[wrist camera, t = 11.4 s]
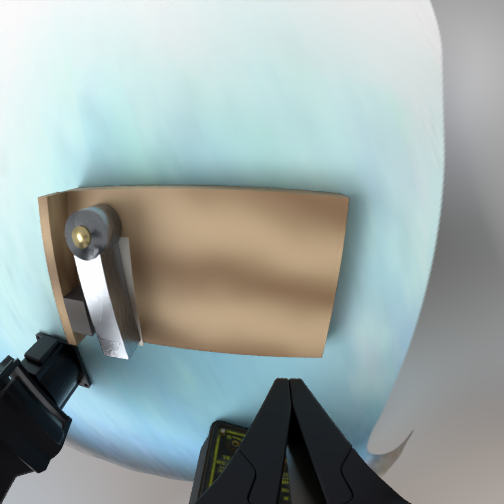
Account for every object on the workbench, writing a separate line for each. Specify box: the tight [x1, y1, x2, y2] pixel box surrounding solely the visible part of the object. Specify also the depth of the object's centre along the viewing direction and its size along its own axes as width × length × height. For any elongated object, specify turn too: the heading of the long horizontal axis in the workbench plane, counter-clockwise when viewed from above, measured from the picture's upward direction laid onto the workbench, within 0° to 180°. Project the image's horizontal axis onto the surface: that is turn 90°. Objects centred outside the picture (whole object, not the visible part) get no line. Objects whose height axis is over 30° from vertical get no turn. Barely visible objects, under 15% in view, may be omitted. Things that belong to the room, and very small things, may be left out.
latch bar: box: [65, 203, 141, 359], centre depth 17 cm, size 11×3×3 cm, turn 2°
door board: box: [38, 185, 349, 358], centre depth 18 cm, size 12×20×4 cm, turn 87°
